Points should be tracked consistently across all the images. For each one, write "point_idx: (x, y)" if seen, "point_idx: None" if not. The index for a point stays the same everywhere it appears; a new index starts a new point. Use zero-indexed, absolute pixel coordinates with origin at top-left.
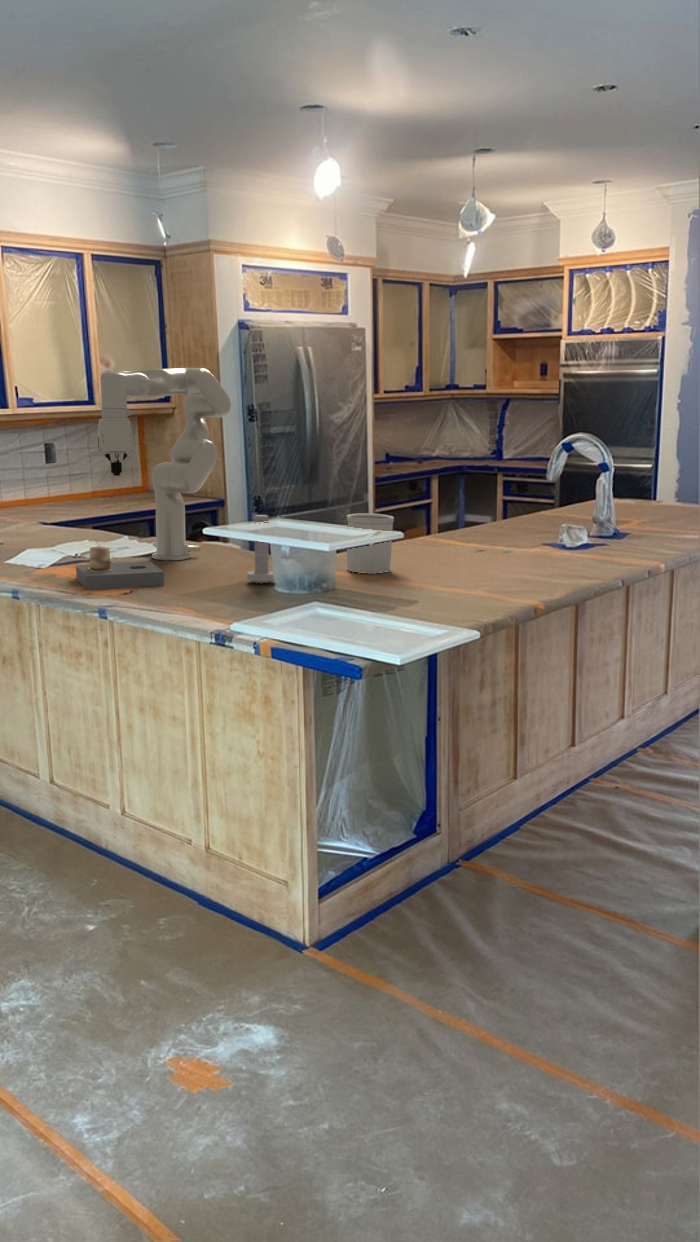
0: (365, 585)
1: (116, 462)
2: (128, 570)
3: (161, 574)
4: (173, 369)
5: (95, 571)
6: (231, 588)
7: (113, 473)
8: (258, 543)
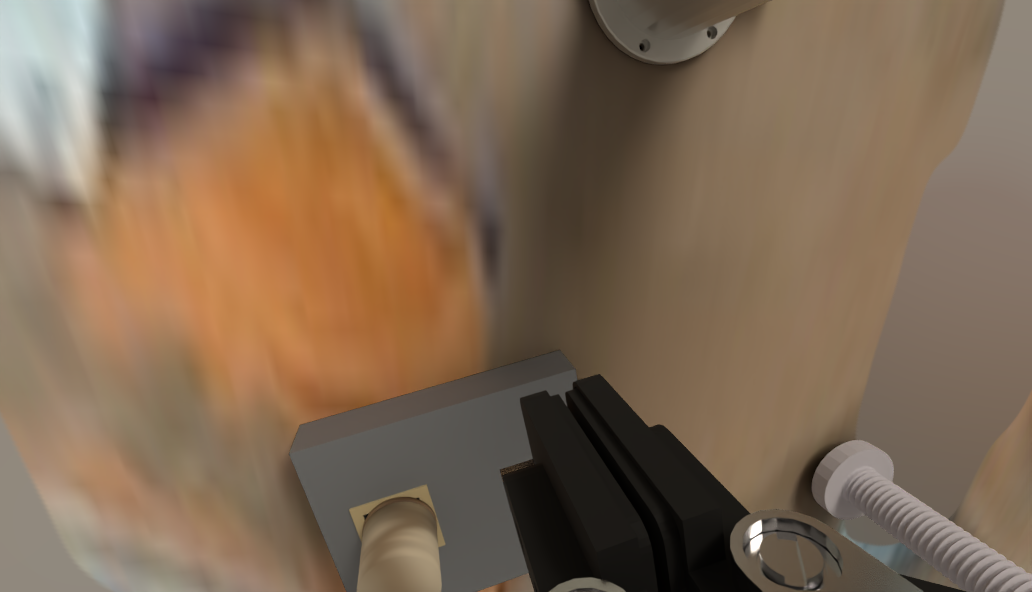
0: (1023, 480)
1: (679, 581)
2: (499, 535)
3: None
4: None
5: None
6: None
7: (532, 440)
8: (937, 568)
